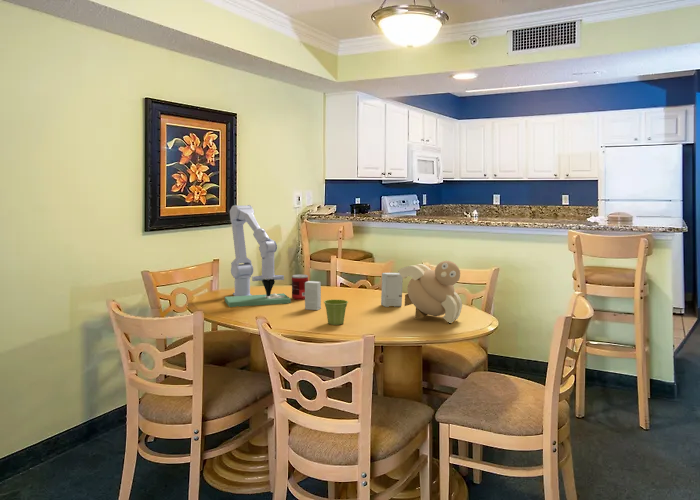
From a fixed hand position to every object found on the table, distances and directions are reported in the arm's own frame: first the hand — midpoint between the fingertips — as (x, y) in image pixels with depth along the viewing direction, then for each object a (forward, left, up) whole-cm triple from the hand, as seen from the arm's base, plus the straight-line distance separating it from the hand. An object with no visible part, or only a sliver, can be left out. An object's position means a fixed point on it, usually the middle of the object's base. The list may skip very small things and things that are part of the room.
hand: (268, 295), depth 257 cm
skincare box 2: (+26, +51, -3) cm, 57 cm away
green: (0, -5, -3) cm, 6 cm away
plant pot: (+50, +16, -3) cm, 53 cm away
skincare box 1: (+22, +15, -3) cm, 27 cm away
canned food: (-3, +16, -3) cm, 17 cm away
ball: (0, +3, -1) cm, 3 cm away
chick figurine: (+54, +56, -3) cm, 78 cm away
